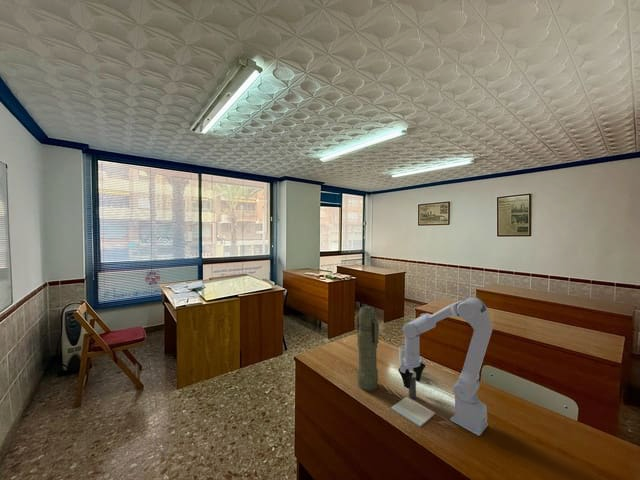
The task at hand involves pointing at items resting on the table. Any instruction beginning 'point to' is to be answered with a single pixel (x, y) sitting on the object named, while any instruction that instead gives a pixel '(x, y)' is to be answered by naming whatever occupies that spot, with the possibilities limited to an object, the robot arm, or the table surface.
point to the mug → (402, 356)
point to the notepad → (413, 411)
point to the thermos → (367, 348)
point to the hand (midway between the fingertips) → (412, 383)
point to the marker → (412, 386)
